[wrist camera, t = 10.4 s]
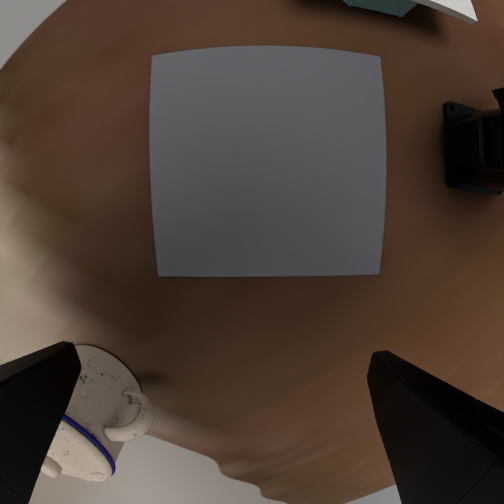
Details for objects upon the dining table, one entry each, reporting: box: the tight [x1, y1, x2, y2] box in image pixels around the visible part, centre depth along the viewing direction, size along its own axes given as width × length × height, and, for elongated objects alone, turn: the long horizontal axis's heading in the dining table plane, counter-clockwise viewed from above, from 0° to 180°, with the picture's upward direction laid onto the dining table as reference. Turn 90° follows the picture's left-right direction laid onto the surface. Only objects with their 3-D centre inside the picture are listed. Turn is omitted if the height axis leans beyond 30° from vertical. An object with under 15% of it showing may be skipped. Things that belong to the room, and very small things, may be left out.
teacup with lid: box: [41, 345, 154, 482], centre depth 17 cm, size 12×9×12 cm
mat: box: [150, 46, 386, 277], centre depth 17 cm, size 15×15×1 cm
